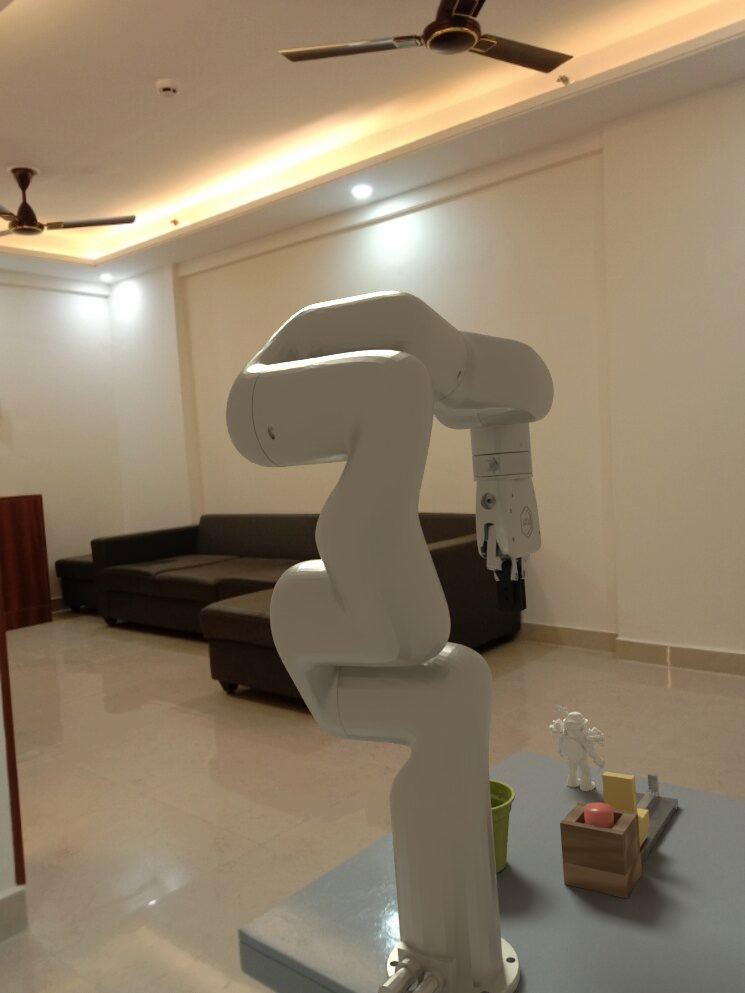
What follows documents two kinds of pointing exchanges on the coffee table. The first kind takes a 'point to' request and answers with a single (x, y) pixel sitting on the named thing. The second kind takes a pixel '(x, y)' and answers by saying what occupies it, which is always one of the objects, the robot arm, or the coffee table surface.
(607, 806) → the plunger
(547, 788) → the coffee table surface
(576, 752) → the flower shoulder figurine
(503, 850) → the plant pot
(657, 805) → the rail
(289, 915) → the coffee table surface
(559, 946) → the coffee table surface
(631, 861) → the wooden box
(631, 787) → the carriage
